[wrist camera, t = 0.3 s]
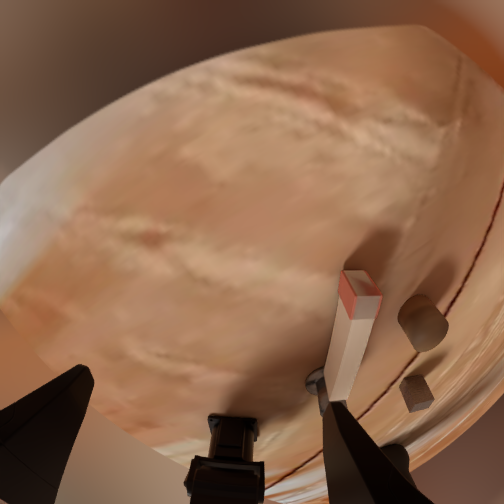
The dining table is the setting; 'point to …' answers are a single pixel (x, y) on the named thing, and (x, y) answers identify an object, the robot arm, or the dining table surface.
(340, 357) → the white rectangular bar
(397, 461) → the cola bottle
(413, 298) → the cylinder
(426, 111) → the dining table surface
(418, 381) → the block
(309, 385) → the flanged metal peg
